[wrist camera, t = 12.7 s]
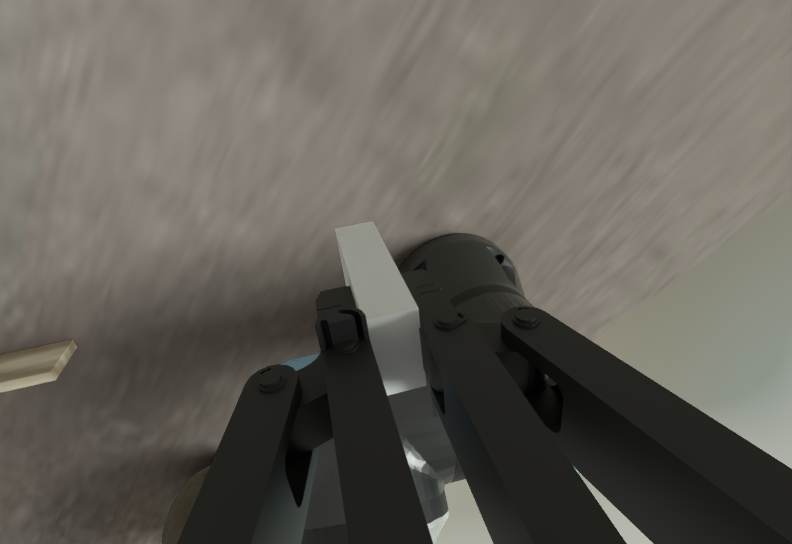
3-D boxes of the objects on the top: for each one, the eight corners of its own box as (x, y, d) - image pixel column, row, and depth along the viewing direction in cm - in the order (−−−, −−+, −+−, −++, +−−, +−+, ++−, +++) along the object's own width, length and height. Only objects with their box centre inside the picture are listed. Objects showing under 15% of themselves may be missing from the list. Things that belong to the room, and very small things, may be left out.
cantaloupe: (160, 506, 57) (125, 644, 44) (197, 425, 52) (171, 552, 39) (268, 519, 62) (266, 645, 49) (310, 446, 58) (319, 564, 45)
